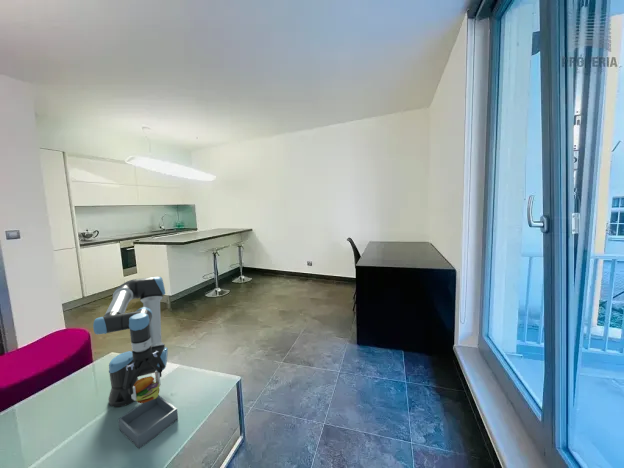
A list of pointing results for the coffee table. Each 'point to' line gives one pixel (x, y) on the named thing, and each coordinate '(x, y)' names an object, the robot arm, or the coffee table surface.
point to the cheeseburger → (146, 389)
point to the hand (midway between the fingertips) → (146, 391)
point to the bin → (147, 421)
